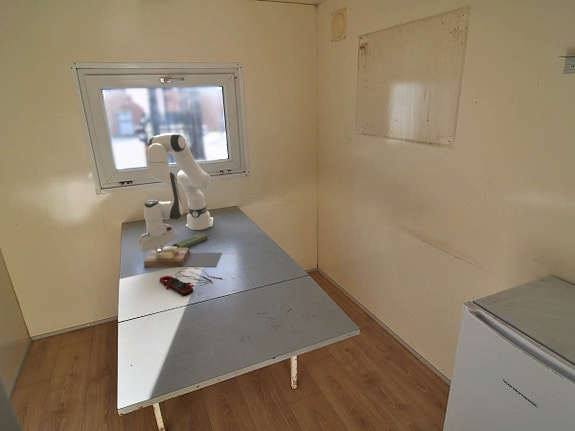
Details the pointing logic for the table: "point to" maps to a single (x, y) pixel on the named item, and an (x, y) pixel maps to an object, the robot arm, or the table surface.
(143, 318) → the table surface
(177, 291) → the digital clamp meter
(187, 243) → the handheld radio
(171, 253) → the tile
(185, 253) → the platform
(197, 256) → the mat
